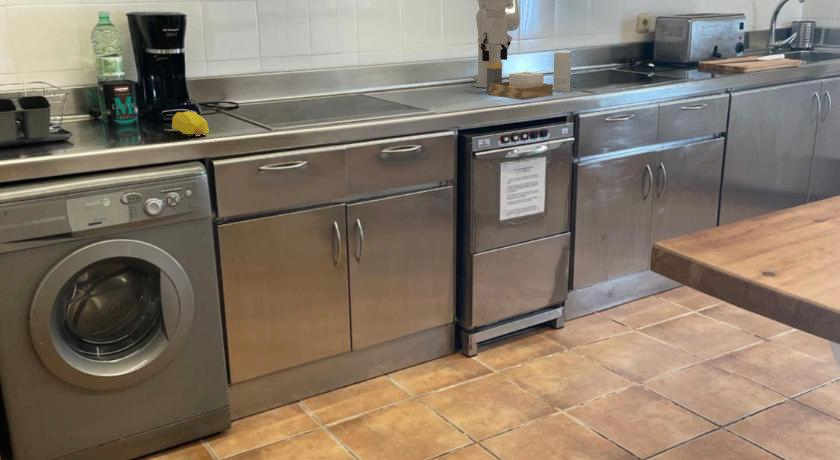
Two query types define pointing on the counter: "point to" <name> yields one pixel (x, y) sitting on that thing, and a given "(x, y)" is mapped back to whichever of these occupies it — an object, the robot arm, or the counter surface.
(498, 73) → the square peg
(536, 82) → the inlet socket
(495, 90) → the crate
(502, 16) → the robot arm
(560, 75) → the skincare box
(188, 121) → the yellow lump
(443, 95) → the counter surface
